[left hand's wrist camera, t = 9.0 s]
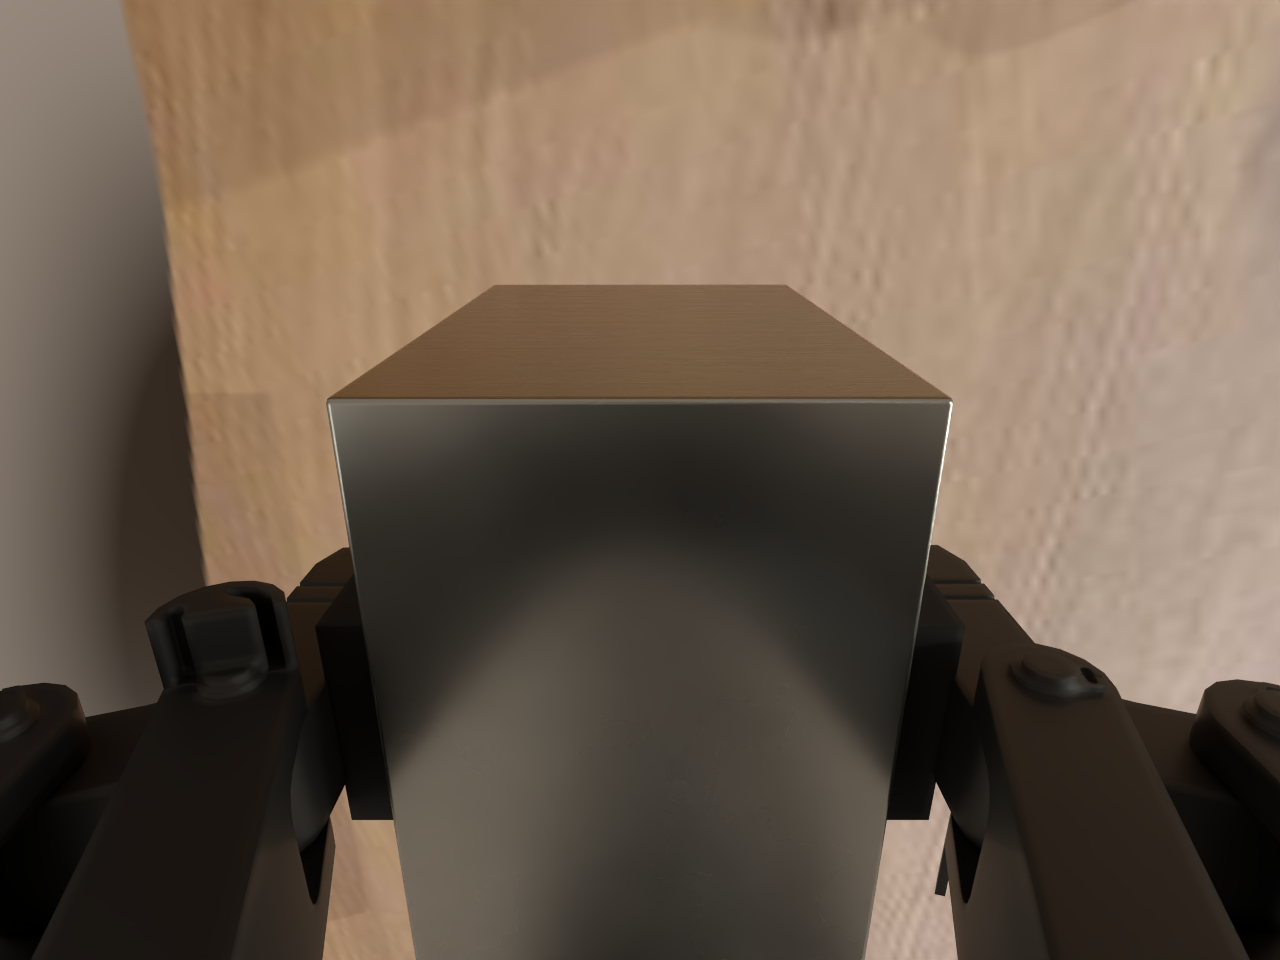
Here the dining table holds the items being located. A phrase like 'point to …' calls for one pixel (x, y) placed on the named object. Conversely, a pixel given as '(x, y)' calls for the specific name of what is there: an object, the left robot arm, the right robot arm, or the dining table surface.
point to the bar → (639, 617)
